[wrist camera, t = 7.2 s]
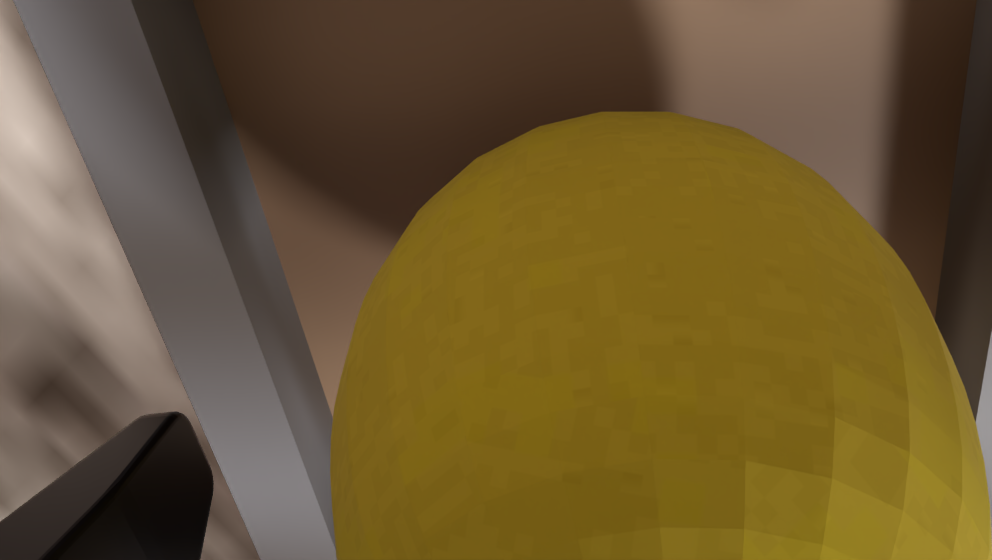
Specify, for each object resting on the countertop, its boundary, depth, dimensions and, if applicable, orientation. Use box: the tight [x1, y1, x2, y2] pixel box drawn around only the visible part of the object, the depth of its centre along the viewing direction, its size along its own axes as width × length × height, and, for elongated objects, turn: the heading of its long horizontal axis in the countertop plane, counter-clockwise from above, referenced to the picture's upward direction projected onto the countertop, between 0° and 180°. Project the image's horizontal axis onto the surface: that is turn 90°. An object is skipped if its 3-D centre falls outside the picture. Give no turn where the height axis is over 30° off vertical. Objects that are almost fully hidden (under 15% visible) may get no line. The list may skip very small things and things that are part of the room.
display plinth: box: [13, 0, 992, 560], centre depth 12 cm, size 13×13×4 cm
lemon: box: [330, 112, 992, 560], centre depth 8 cm, size 6×6×8 cm
